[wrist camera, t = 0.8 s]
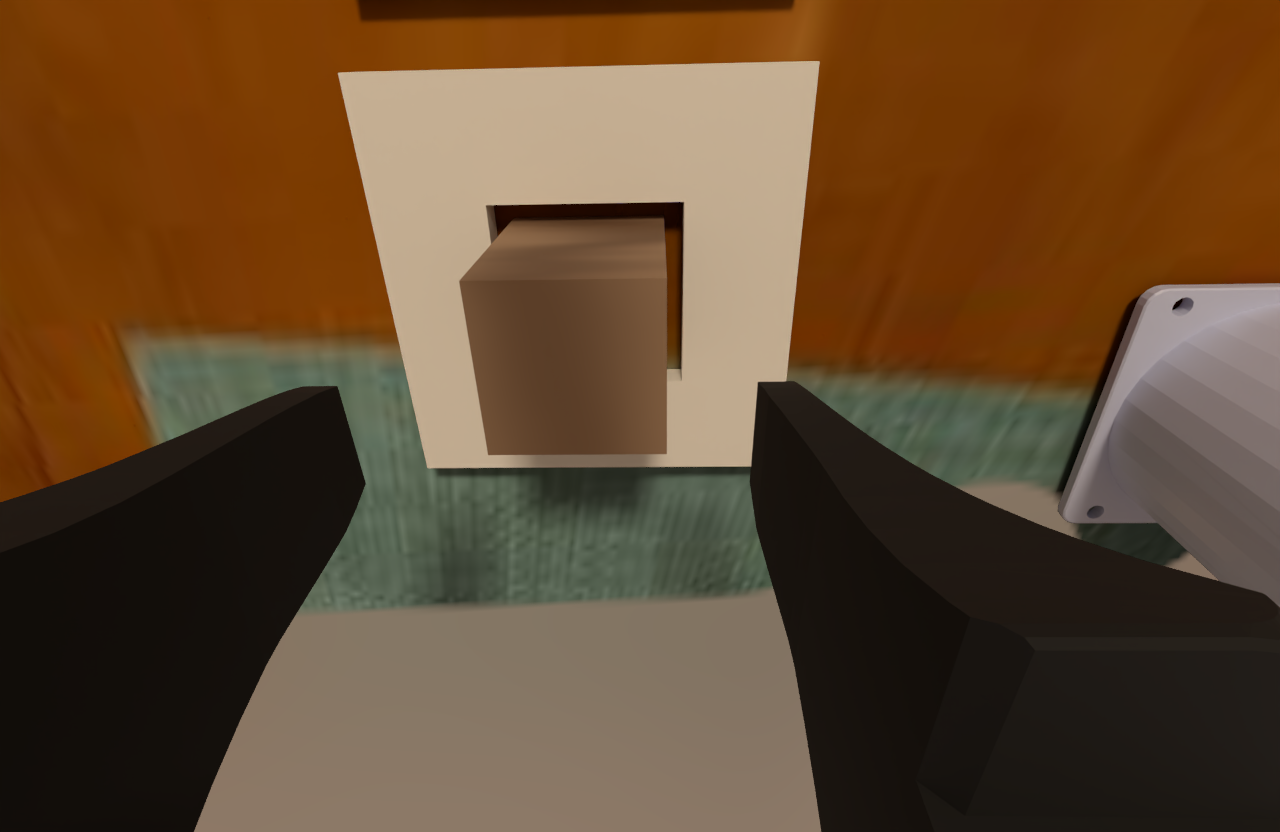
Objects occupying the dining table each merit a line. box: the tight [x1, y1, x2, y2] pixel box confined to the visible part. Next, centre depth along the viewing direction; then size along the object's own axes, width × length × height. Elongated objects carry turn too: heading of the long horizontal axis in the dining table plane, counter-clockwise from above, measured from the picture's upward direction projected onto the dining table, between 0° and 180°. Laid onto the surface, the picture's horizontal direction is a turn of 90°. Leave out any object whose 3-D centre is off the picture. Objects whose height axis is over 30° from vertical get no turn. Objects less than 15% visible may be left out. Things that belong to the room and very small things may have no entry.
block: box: [459, 215, 667, 455], centre depth 15 cm, size 4×4×6 cm
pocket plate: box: [338, 61, 820, 468], centre depth 17 cm, size 11×11×1 cm
